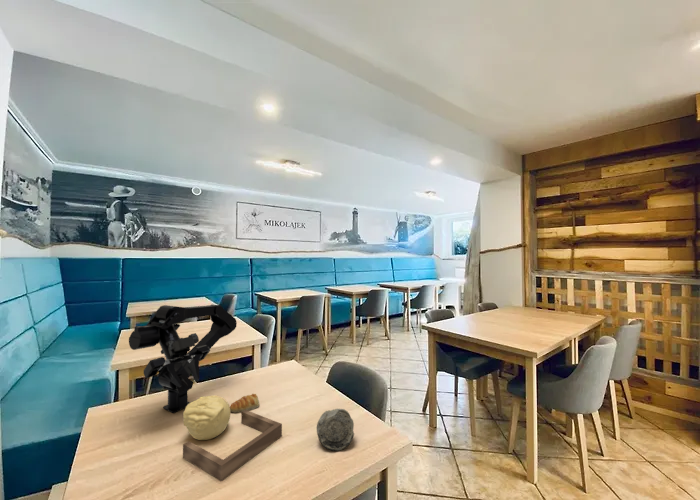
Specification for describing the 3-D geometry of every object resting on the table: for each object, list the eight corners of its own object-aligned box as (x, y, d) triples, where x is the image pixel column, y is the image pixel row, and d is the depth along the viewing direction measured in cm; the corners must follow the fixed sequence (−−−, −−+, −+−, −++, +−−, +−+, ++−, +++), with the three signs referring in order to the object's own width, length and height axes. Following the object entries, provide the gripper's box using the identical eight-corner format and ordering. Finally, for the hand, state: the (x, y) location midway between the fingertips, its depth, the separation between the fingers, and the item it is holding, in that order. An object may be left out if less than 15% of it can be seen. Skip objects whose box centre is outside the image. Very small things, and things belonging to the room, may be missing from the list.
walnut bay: (182, 457, 77) (182, 444, 77) (245, 420, 94) (245, 409, 94) (221, 480, 69) (221, 465, 69) (281, 436, 87) (281, 423, 87)
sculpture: (176, 444, 83) (176, 405, 83) (203, 420, 95) (203, 386, 95) (214, 448, 81) (215, 408, 81) (237, 423, 93) (237, 388, 93)
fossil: (325, 456, 77) (317, 414, 81) (314, 454, 84) (308, 415, 88) (361, 443, 82) (352, 403, 86) (348, 442, 89) (340, 406, 93)
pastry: (233, 417, 97) (233, 405, 97) (226, 409, 102) (226, 397, 102) (261, 407, 103) (261, 396, 103) (253, 400, 108) (253, 389, 108)
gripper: (149, 333, 88) (169, 379, 82) (207, 321, 104) (227, 358, 98) (135, 355, 92) (153, 401, 86) (193, 340, 108) (212, 377, 102)
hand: (189, 383), depth 93 cm, fingers open, 5 cm apart
